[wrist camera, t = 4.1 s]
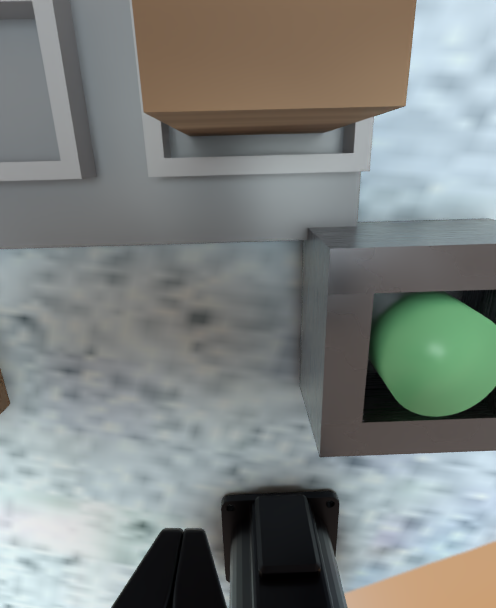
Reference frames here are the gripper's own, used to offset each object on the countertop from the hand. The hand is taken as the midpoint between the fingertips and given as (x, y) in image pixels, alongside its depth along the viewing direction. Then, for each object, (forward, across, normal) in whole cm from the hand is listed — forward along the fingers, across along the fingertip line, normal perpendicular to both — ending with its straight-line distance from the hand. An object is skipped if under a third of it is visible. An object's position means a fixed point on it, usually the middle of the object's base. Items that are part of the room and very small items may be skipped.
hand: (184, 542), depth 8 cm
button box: (+11, -8, -1) cm, 14 cm away
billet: (+10, -1, -10) cm, 14 cm away
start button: (+9, -8, -1) cm, 12 cm away
